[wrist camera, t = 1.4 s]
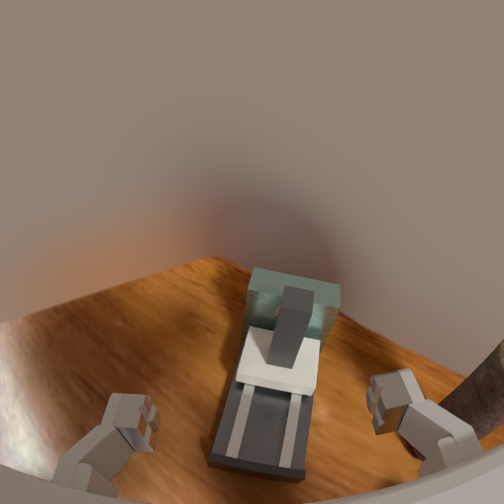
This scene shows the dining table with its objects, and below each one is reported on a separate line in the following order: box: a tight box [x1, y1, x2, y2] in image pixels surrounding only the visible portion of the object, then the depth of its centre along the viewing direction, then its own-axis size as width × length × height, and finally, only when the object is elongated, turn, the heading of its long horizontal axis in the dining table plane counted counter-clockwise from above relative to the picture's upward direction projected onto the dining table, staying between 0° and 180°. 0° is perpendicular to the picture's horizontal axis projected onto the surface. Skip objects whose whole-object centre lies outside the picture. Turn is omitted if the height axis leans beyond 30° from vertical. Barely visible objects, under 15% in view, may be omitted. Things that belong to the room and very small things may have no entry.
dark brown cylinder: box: [411, 340, 504, 462], centre depth 26 cm, size 8×7×20 cm
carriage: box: [236, 285, 320, 396], centre depth 34 cm, size 9×7×12 cm
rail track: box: [208, 267, 340, 484], centre depth 35 cm, size 11×22×10 cm, turn 168°
